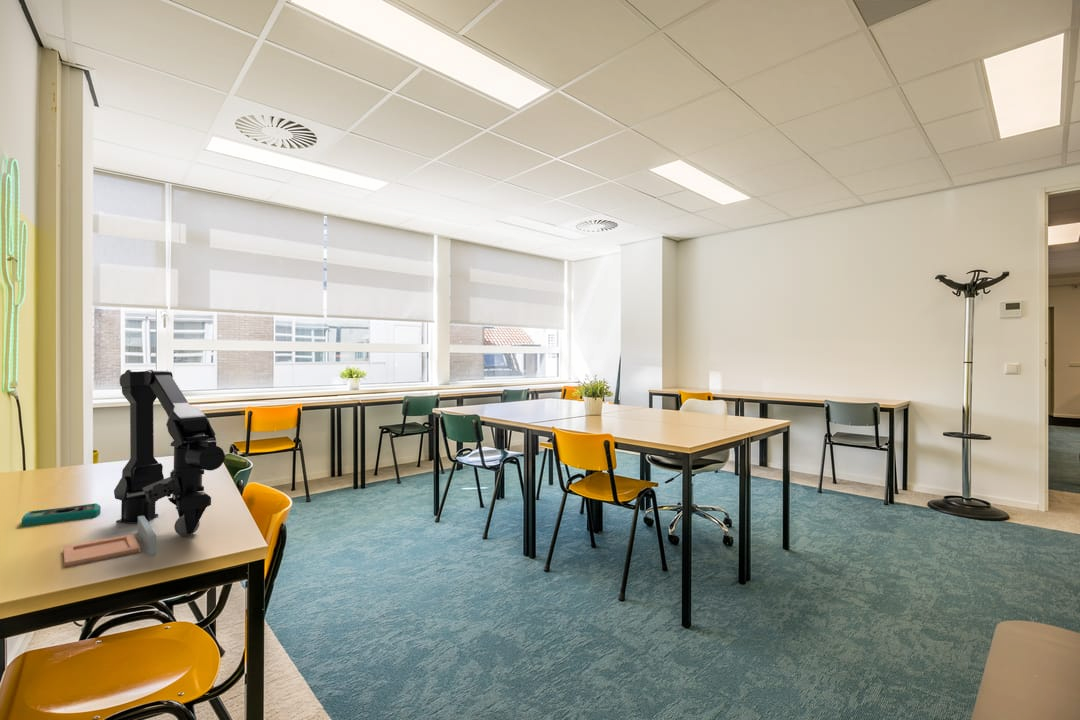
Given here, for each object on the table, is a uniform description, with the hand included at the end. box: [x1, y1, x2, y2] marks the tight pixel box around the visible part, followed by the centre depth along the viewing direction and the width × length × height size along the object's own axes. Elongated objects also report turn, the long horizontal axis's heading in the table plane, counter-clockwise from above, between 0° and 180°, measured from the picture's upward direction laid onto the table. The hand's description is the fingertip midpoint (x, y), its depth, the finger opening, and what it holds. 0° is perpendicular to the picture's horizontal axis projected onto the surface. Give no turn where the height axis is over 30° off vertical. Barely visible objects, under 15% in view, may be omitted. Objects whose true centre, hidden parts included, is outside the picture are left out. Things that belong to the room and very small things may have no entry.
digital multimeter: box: [21, 502, 102, 528], centre depth 132 cm, size 7×15×3 cm, turn 128°
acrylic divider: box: [137, 516, 158, 557], centre depth 115 cm, size 20×1×4 cm, turn 45°
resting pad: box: [62, 533, 141, 568], centre depth 110 cm, size 12×12×1 cm
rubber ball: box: [173, 516, 201, 537], centre depth 121 cm, size 5×5×5 cm
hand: (187, 530), depth 121 cm, fingers open, 6 cm apart
